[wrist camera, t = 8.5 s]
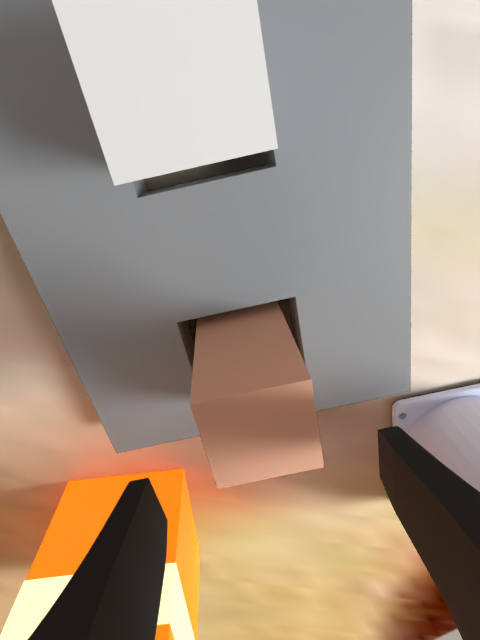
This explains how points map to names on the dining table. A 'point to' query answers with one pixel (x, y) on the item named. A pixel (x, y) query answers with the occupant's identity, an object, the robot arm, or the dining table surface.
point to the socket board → (211, 188)
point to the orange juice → (80, 533)
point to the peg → (253, 397)
